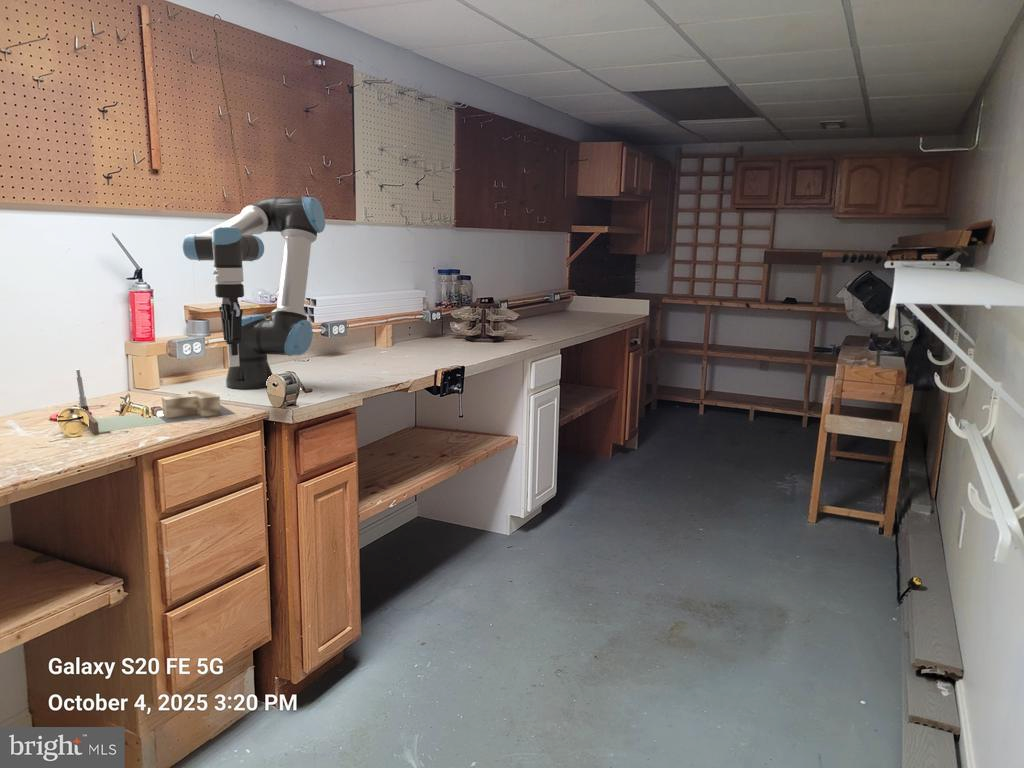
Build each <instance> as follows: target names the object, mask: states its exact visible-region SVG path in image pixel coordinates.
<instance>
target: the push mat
mask: <svg viewBox="0 0 1024 768" xmlns="http://www.w3.org/2000/svg"><path fill="white" fill-rule="evenodd" d="M220 410H221V414H217V415H210V416H203V417H202V416H200V415H199V414H192V415H185V416H177V417H170V418H167V417H165V416H163V417H156V416H153V417H151V418H148V419H145V418H143V417H142V416H141V414H138V413H131V414H130V413H129V414H123V415H124V416H121V415H115V416H108V417H107V416H106V417H98V418H94V416H92V415H90V414H89V412H90V411H89V412H88V411H87V410H85V411H86V412H87V414H88V417H89V428H88V429H89V430H90V431H91V432H92V434H93V435H100V434H106V433H108V434H109V433H111V432H113V431H118V430H121V431H122V430H126V429H127V430H128V429H135V428H140V427H141V428H142V427H150V426H156V425H162V424H163V425H165V424H170V423H178V422H187V421H193V420H200V419H201V420H202V419H208V418H214V417H215V418H216V417H222V416H223V417H224V416H229V415H236V413H235V412H233V411H232V410H230V409H228V408H226V407H225V406H223V405H221V404H220Z"/></svg>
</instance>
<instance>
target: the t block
mask: <svg viewBox="0 0 1024 768" xmlns="http://www.w3.org/2000/svg"><path fill="white" fill-rule="evenodd" d="M187 392H188V394H179V395H170V396H162V397H161V403H162V410H163V414H164V416H165V417H167V418H170V417H177V416H185V415H192V414H199V415H200V416H202V417H203V416H210V415H217V414H221V410H220V405H221V398H220V396H219V395H217V394H216V393H214V392H212V391H211V390H209V389H207V388H206V389H198V390H189V391H187Z"/></svg>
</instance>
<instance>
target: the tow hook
mask: <svg viewBox="0 0 1024 768" xmlns="http://www.w3.org/2000/svg"><path fill="white" fill-rule="evenodd" d="M76 381H77V389H78V394H79V397H78V400H79V408H80V407H81V408H83V409H85V410H87V411H88V412H89V414H90V415H91V416H92V414H93V413H92V412H91V411H90V407H89V406H88V403H87V397H86V395H85V391H84V390H85V389H84V385H83V384H84V383H83V377H82V376H81V370H80V369H77V368H76ZM59 413H60V412H56V413H53V414H51V415H50V416H49V420H50V421H52V420H54V421H53V422H58V421H57V418H58V417H57V416H58V414H59Z"/></svg>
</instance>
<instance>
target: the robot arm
mask: <svg viewBox="0 0 1024 768" xmlns="http://www.w3.org/2000/svg"><path fill="white" fill-rule="evenodd" d="M325 217H326V216H325V212H324V209H323V206H322V204H321V202H320V201H319V199H317V198H316V197H312V196H304V195H303V196H270V197H267V198H263V199H260V200H257V201H255V202H253V203H251V204H249V205H247V206H246V207H244V208H243V209H241V212H240V213H239V214H237V215H235V216H232V218H229V219H228V220H226V221H224V222H222V223H220V224H218V225H215V226H214V227H212V228H211V229H209V230H207V231H205V232H202V233H193V234H186V235H185V236H184V238H182V239H183V240H182V242H181V243H182V244H181V245H182V246H181V247H182V252H183V254H184V256H185V257H186V259H189V260H191V261H200V262H201V261H213V267H214V269H213V270H214V271H212V272H211V273H212V275H214V281H215V285H214V290H215V291H214V292H215V297H216V298H219V299H222V303H221V305H220V306H219V307H218V310H219V314H220V319H221V327H222V335H223V340H224V341H225V342H226V343H225V344H226V350H227V351H226V354H227V365H228V370H227V375H226V379H225V385H226V387H227V388H230V389H239V390H241V389H242V390H247V389H248V390H250V389H251V390H252V389H260V388H261V389H263V388H266V387H265V386H266V381H267V379H268V377H269V376H271V375H273V376H274V374H273V372H272V369H271V367H270V364H269V362H268V356H269V355H274V356H275V355H276V356H289V357H292V356H302V355H304V354H305V353H306V352H307V351H308V350H309V349H310V347H311V344H312V341H313V336H314V335H313V334H314V331H313V325H312V323H311V322H310V321H309V320H308V315H307V314H306V312H304V310H305V309H304V308H305V300H306V294H307V293H306V291H307V283H308V275H309V266H310V258H311V257H310V256H311V248H312V244H313V243H314V242H316V241H317V237H318V234H320V233H322V232H324V229H325V228H326V227H325V225H326V218H325ZM269 232H272V233H273V232H276V233H277V232H278V233H280V235H281V236H282V237H283V239H284V244H283V252H282V258H281V261H282V262H281V267H280V268H281V269H280V276H279V277H280V278H279V285H278V293H277V302H276V308H275V309H273V310H272V311H271V312H270V318H266V315H265V314H263V313H261V314H252V315H245V316H243V312H244V311H243V309H242V308H241V306H240V303H239V298H243V297H244V296H245V289H244V287H245V286H244V284H243V282H244V267H243V262H254V261H258V260H259V259H261V258H262V257H263V255H264V253H265V244H264V242H263V240H262V239H261V238H260V237H259V236H256V235H261V234H263V233H269Z"/></svg>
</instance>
